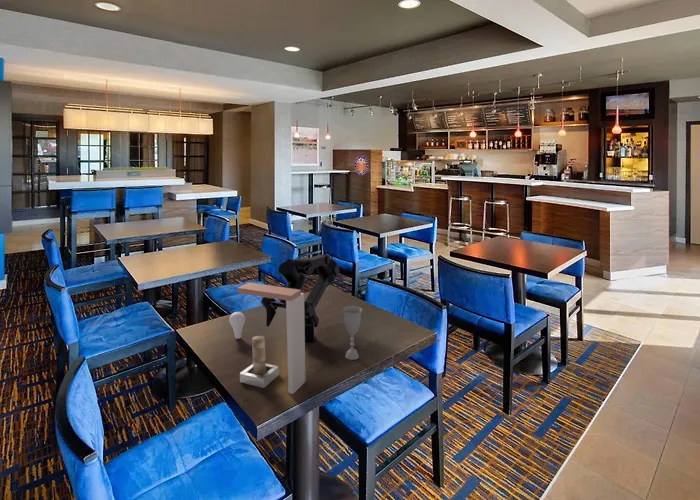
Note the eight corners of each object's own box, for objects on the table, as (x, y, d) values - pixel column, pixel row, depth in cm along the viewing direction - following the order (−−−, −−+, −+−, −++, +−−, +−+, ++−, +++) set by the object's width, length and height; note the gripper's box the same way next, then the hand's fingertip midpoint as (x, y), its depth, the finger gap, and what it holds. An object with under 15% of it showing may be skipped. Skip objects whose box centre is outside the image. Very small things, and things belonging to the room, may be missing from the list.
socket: (256, 369, 146) (255, 361, 145) (279, 374, 143) (278, 366, 142) (240, 382, 138) (239, 373, 137) (263, 387, 135) (263, 379, 134)
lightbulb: (242, 342, 166) (240, 315, 164) (227, 341, 168) (225, 314, 165) (248, 336, 172) (247, 310, 170) (234, 334, 173) (233, 309, 171)
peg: (265, 374, 143) (263, 335, 140) (266, 380, 139) (265, 340, 136) (253, 376, 142) (251, 336, 139) (254, 382, 138) (252, 341, 135)
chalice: (342, 352, 159) (342, 306, 155) (360, 351, 160) (361, 305, 156) (343, 361, 152) (343, 313, 148) (362, 360, 153) (363, 313, 149)
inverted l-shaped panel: (256, 370, 145) (252, 280, 138) (305, 381, 139) (304, 288, 132) (242, 381, 138) (237, 287, 131) (292, 394, 131) (290, 295, 124)
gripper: (262, 274, 153) (245, 314, 146) (309, 281, 146) (293, 323, 139) (275, 289, 162) (259, 327, 155) (319, 296, 155) (305, 336, 148)
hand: (278, 328), depth 149 cm, fingers open, 9 cm apart
